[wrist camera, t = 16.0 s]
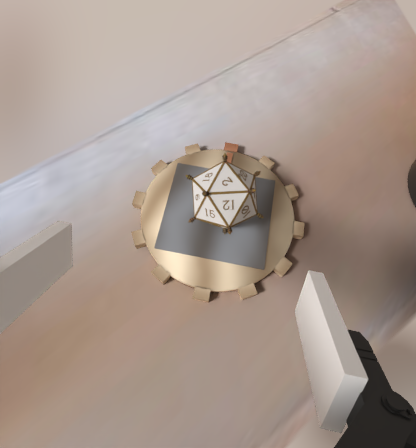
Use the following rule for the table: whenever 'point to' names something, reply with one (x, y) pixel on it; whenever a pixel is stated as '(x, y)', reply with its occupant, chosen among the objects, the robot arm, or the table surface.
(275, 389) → the table surface
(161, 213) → the sprocket plate
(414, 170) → the robot arm
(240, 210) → the game die
